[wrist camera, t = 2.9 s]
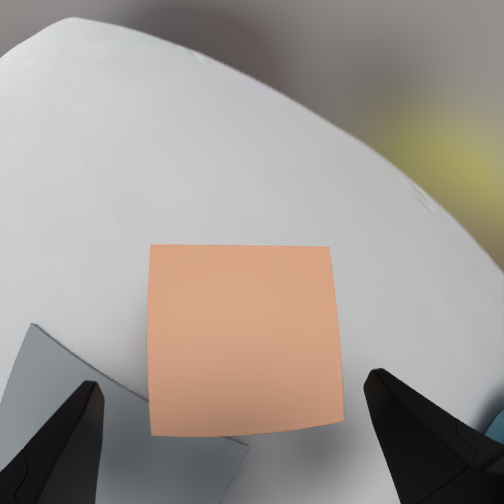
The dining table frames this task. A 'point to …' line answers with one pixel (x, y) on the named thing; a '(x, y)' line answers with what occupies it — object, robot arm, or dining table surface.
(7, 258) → the dining table surface
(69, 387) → the mat
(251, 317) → the block
